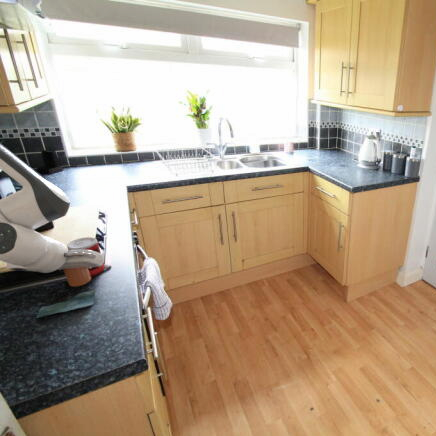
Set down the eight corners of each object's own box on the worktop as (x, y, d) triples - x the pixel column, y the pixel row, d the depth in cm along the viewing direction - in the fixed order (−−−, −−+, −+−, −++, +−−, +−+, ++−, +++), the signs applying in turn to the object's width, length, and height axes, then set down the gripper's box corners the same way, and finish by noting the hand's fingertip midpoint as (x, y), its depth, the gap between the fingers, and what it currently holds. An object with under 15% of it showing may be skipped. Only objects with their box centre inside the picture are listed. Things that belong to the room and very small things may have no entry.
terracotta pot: (65, 287, 96) (55, 261, 92) (75, 276, 101) (66, 251, 97) (85, 285, 96) (76, 260, 93) (94, 275, 101) (86, 250, 98)
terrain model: (36, 324, 84) (34, 318, 83) (42, 308, 90) (40, 302, 89) (95, 308, 90) (94, 302, 89) (96, 294, 96) (95, 289, 95)
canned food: (85, 265, 110) (76, 237, 105) (110, 264, 110) (101, 236, 106) (71, 278, 103) (60, 248, 98) (97, 277, 103) (88, 248, 99)
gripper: (90, 241, 87) (115, 254, 100) (5, 245, 84) (41, 258, 97) (87, 264, 85) (112, 274, 98) (-2, 269, 82) (37, 279, 94)
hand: (76, 266), depth 97 cm, fingers closed on terracotta pot, 5 cm apart
